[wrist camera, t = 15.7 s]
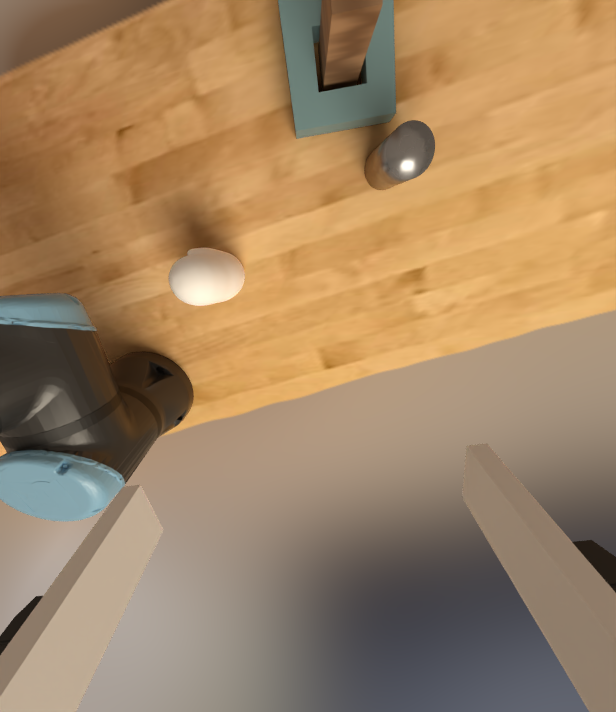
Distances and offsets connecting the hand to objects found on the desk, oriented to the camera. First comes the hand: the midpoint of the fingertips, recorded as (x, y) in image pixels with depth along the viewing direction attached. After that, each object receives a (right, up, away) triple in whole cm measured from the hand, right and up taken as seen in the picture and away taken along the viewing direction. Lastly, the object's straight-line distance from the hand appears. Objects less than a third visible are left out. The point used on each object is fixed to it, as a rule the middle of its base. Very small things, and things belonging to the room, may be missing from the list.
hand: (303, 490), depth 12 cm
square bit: (+4, +40, +23) cm, 46 cm away
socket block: (+4, +40, +23) cm, 46 cm away
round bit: (+10, +31, +27) cm, 42 cm away
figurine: (-13, +18, +32) cm, 39 cm away
